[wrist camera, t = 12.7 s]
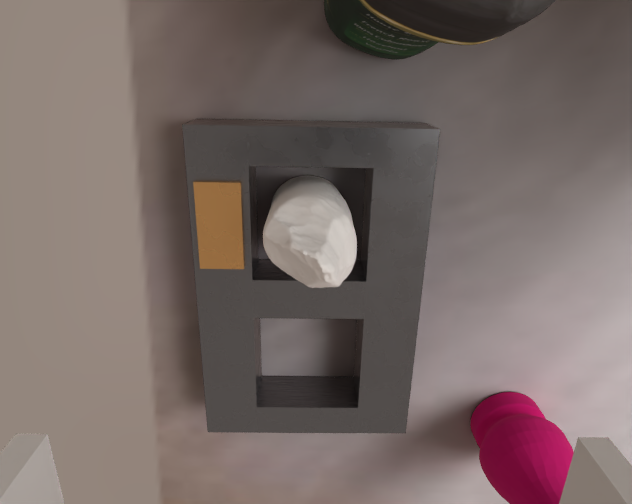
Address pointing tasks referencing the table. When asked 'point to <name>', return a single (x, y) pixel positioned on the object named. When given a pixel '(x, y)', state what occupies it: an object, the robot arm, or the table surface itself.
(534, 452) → the pepper mill
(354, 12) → the coffee jar
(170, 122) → the table surface
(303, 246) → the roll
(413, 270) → the hole plate
